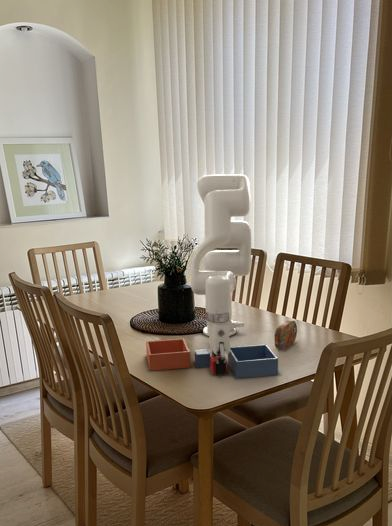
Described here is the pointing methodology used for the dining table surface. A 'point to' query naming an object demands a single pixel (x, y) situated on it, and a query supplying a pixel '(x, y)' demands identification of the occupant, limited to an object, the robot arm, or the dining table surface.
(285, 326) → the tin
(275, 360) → the blue bin
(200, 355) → the blue block
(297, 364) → the dining table surface
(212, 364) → the red block
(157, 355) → the terracotta bin
